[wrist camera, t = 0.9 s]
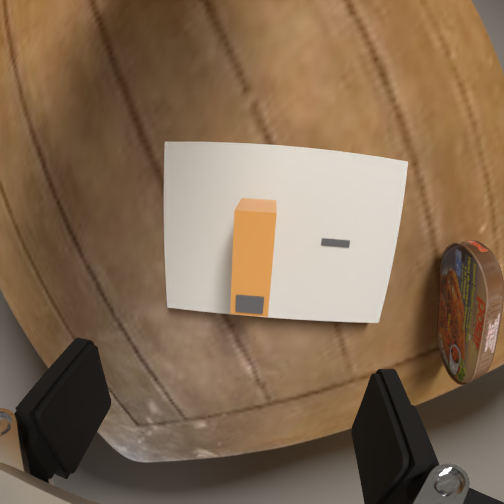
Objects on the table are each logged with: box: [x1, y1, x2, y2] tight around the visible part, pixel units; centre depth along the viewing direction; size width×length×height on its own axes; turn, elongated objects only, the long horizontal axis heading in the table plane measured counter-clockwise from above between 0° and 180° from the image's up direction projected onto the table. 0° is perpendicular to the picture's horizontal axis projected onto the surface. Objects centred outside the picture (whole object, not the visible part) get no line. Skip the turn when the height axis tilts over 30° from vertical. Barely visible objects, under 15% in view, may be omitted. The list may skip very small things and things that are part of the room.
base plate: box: [164, 142, 408, 323], centre depth 27 cm, size 15×20×4 cm
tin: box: [437, 240, 504, 385], centre depth 26 cm, size 15×3×8 cm, turn 12°
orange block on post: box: [230, 198, 277, 317], centre depth 22 cm, size 7×2×5 cm, turn 177°
